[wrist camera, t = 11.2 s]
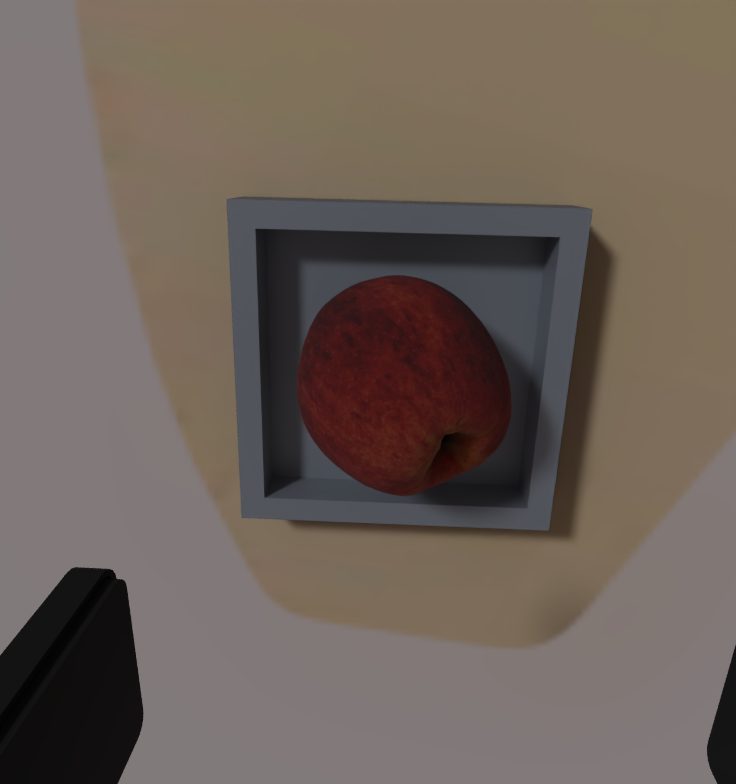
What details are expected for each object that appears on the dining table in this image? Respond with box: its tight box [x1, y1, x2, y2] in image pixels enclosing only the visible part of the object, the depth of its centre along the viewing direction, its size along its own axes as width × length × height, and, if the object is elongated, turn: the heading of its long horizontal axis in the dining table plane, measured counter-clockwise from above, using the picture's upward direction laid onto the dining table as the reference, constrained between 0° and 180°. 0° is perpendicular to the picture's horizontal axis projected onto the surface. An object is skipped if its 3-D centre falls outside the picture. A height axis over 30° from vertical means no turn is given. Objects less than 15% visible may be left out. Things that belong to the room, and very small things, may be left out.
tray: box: [227, 197, 592, 531], centre depth 26 cm, size 13×13×3 cm
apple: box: [297, 275, 512, 496], centre depth 22 cm, size 7×8×8 cm
